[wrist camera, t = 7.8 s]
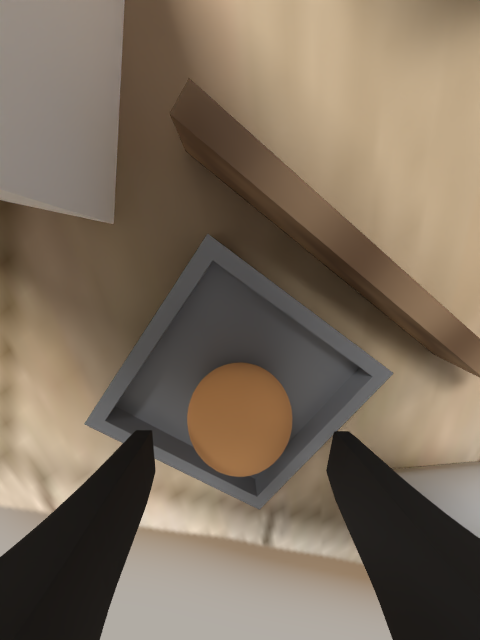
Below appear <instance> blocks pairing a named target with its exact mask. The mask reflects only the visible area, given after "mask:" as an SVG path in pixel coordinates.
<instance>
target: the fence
mask: <svg viewBox="0 0 480 640" xmlns="http://www.w3.org/2000/svg"><path fill="white" fill-rule="evenodd" d="M170 116H171V118H172V120H173V123H174V125H175V127H176V130H177V132H178V134H179V136H180V139H181V141H182V143H183V146H184V148H185V150H186V152H188V153H189V154H190V155H191V156H192V157H194V158H195V159H196V160H197V161H199V162H200V163H201V164H202V165H203V166H205V167H206V168H207V169H208V170H210V171H211V172H212V173H213V174H214V175H216V176H217V177H218V178H219V179H221V180H222V181H223V182H224V183H225V184H227V185H228V186H229V187H230V188H232V189H233V190H234V191H235V192H236V193H238V194H239V195H240V196H241V197H243V198H244V199H245V200H246V201H247V202H249V203H250V204H251V205H252V206H254V207H255V208H256V209H257V210H258V211H260V212H261V213H262V214H263V215H265V216H266V217H267V218H268V219H269V220H271V221H272V222H273V223H274V224H276V225H277V226H278V227H279V228H280V229H282V230H283V231H284V232H285V233H287V234H288V235H289V236H290V237H291V238H293V239H294V240H295V241H296V242H298V243H299V244H300V245H301V246H302V247H304V248H305V249H306V250H307V251H308V252H310V253H311V254H312V255H313V256H315V257H316V258H317V259H318V260H319V261H321V262H322V263H323V264H324V265H326V266H327V267H328V268H329V269H330V270H332V271H333V272H334V273H335V274H337V275H338V276H339V277H340V278H341V279H343V280H344V281H345V282H346V283H348V284H349V285H350V286H351V287H352V288H354V289H355V290H356V291H357V292H359V293H360V294H361V295H362V296H363V297H365V298H366V299H367V300H368V301H370V302H371V303H372V304H373V305H374V306H376V307H377V308H378V309H379V310H381V311H382V312H383V313H384V314H385V315H387V316H388V317H389V318H390V319H392V320H393V321H394V322H395V323H396V324H398V325H399V326H400V327H401V328H403V329H404V330H405V331H406V332H407V333H409V334H410V335H411V336H412V337H414V338H415V339H416V340H417V341H418V342H420V343H421V344H422V345H423V346H425V347H426V348H427V349H428V350H429V351H431V352H432V353H433V354H434V355H436V356H438V357H440V358H442V359H444V360H446V361H448V362H450V363H452V364H454V365H456V366H458V367H460V368H462V369H464V370H466V371H468V372H470V373H472V374H474V375H476V376H478V377H480V339H479V338H478V337H477V336H476V335H475V334H474V333H473V332H472V331H471V330H469V329H468V328H467V327H466V326H465V325H464V324H463V323H462V322H460V321H459V320H458V319H457V318H456V317H455V316H454V315H453V314H452V313H450V312H449V311H448V310H447V309H446V308H445V307H444V306H443V305H442V304H440V303H439V302H438V301H437V300H436V299H435V298H434V297H433V296H431V295H430V294H429V293H428V292H427V291H426V290H425V289H424V288H423V287H421V286H420V285H419V284H418V283H417V282H416V281H415V280H414V279H413V278H411V277H410V276H409V275H408V274H407V273H406V272H405V271H404V270H402V269H401V268H400V267H399V266H398V265H397V264H396V263H395V262H394V261H392V260H391V259H390V258H389V257H388V256H387V255H386V254H385V253H384V252H382V251H381V250H380V249H379V248H378V247H377V246H376V245H375V244H373V243H372V242H371V241H370V240H369V239H368V238H367V237H366V236H365V235H363V234H362V233H361V232H360V231H359V230H358V229H357V228H356V227H355V226H353V225H352V224H351V223H350V222H349V221H348V220H347V219H346V218H344V217H343V216H342V215H341V214H340V213H339V212H338V211H337V210H336V209H334V208H333V207H332V206H331V205H330V204H329V203H328V202H327V201H326V200H324V199H323V198H322V197H321V196H320V195H319V194H318V193H317V192H315V191H314V190H313V189H312V188H311V187H310V186H309V185H308V184H307V183H305V182H304V181H303V180H302V179H301V178H300V177H299V176H298V175H297V174H295V173H294V172H293V171H292V170H291V169H290V168H289V167H288V166H286V165H285V164H284V163H283V162H282V161H281V160H280V159H279V158H278V157H276V156H275V155H274V154H273V153H272V152H271V151H270V150H269V149H268V148H266V147H265V146H264V145H263V144H262V143H261V142H260V141H259V140H257V139H256V138H255V137H254V136H253V135H252V134H251V133H250V132H249V131H247V130H246V129H245V128H244V127H243V126H242V125H241V124H240V123H239V122H237V121H236V120H235V119H234V118H233V117H232V116H231V115H230V114H228V113H227V112H226V111H225V110H224V109H223V108H222V107H221V106H220V105H218V104H217V103H216V102H215V101H214V100H213V99H212V98H211V97H210V96H208V95H207V94H206V93H205V92H204V91H203V90H202V89H201V88H199V87H198V86H197V85H196V84H195V83H194V82H193V81H192V80H191V79H188V81H187V82H186V84H185V86H184V88H183V90H182V92H181V94H180V95H179V97H178V99H177V101H176V103H175V105H174V106H173V108H172V110H171V112H170Z"/></svg>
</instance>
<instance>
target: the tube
mask: <svg viewBox="0 0 480 640" xmlns="http://www.w3.org/2000/svg"><path fill="white" fill-rule="evenodd" d="M392 470H394V471H395V472H396V473H397V474H398V475H399V476H401V477H402V478H403V479H404V480H405V481H406V482H408V483H409V484H410V485H411V486H412V487H414V488H415V489H416V490H417V491H419V492H420V493H421V494H422V495H423V496H425V497H426V498H427V499H428V500H430V501H431V502H432V503H433V504H435V505H436V506H437V507H439V508H440V509H441V510H442V511H444V512H445V513H446V514H447V515H449V516H450V517H451V518H453V519H454V520H455V521H457V522H458V523H459V524H461V525H462V526H463V527H465V528H466V529H468V530H469V531H470V532H472V533H473V534H474V535H476V536H477V537H478V538H480V461H473V462H463V463H452V464H441V465H430V466H420V467H409V468H398V469H392Z"/></svg>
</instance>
